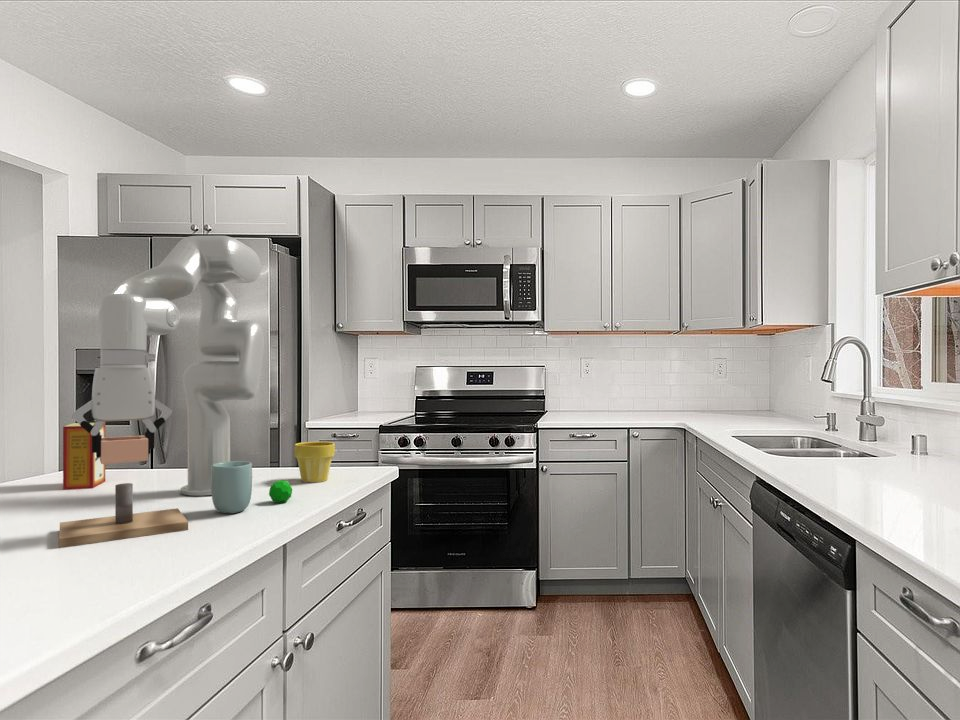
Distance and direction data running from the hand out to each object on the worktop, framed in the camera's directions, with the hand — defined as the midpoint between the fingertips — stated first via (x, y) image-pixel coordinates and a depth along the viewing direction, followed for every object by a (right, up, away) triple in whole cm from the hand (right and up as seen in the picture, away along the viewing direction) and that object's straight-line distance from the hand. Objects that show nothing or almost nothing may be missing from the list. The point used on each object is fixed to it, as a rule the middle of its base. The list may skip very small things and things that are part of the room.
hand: (123, 454), depth 116 cm
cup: (+14, -14, +15) cm, 25 cm away
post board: (0, -14, 0) cm, 14 cm away
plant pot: (+23, -15, +49) cm, 56 cm away
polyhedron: (+22, -15, +23) cm, 35 cm away
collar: (0, -1, 0) cm, 1 cm away
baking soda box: (-35, -15, +43) cm, 57 cm away
